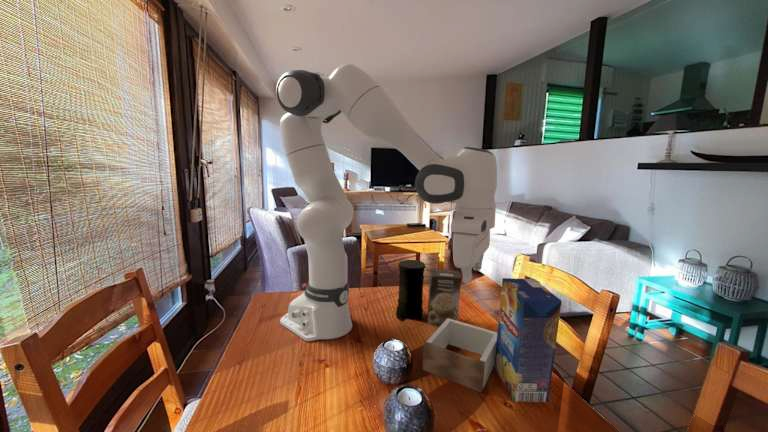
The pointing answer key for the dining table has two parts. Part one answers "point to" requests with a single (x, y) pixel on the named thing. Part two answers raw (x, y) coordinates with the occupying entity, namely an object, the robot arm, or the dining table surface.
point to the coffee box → (443, 296)
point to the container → (410, 290)
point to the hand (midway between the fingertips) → (472, 275)
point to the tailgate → (453, 366)
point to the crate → (468, 341)
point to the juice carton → (526, 339)
